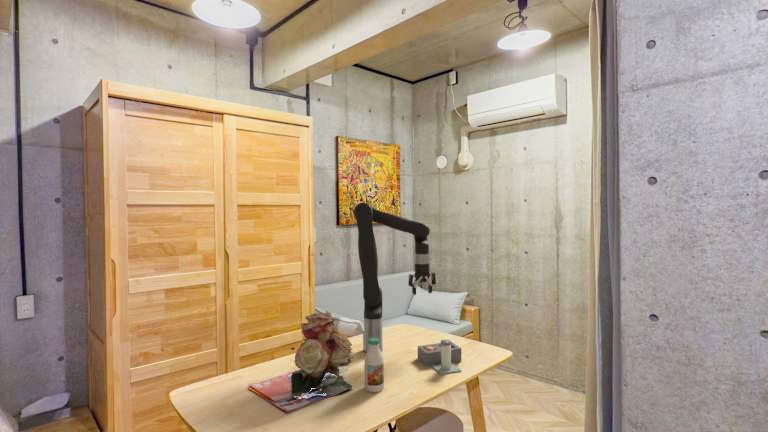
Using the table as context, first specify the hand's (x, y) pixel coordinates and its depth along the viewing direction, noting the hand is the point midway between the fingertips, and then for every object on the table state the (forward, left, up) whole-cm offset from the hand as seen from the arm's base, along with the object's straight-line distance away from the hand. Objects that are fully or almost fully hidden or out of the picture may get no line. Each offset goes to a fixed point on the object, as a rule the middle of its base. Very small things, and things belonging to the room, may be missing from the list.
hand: (422, 293), depth 205 cm
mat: (-1, -28, -28) cm, 40 cm away
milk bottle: (-37, -35, -28) cm, 58 cm away
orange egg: (-4, -17, -28) cm, 33 cm away
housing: (+1, -17, -28) cm, 33 cm away
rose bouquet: (-56, -25, -28) cm, 67 cm away
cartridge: (-1, -28, -27) cm, 39 cm away
